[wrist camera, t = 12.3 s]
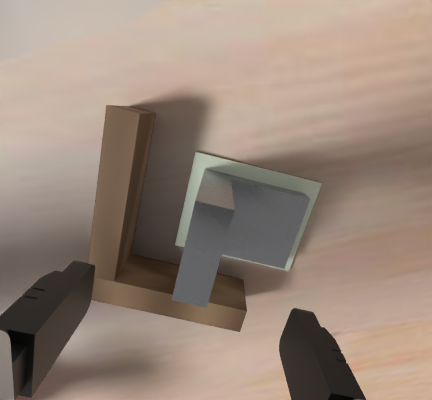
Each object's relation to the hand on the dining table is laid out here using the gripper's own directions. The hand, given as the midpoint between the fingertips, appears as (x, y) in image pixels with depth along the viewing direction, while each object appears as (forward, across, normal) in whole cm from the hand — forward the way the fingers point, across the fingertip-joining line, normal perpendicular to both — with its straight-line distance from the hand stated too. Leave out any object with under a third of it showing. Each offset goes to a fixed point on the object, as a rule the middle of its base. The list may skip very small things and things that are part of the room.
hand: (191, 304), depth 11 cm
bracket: (+12, -3, 0) cm, 12 cm away
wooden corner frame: (+12, +1, +1) cm, 12 cm away
